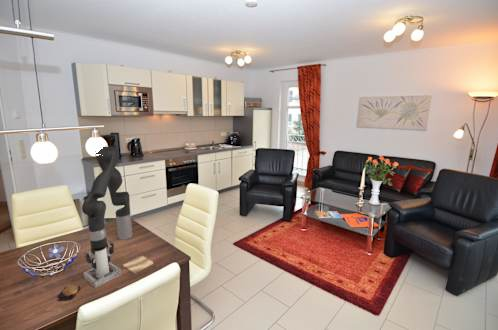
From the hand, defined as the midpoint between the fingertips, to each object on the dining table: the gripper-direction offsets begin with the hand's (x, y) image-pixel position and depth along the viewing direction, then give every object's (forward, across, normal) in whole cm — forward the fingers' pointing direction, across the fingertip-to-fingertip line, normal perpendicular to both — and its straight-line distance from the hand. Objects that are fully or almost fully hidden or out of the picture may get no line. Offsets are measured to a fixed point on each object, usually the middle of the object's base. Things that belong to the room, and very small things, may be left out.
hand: (101, 264), depth 137 cm
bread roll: (+7, +16, 0) cm, 18 cm away
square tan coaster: (+7, -17, +6) cm, 19 cm away
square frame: (+7, 0, 0) cm, 7 cm away
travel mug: (+7, 0, 0) cm, 7 cm away
